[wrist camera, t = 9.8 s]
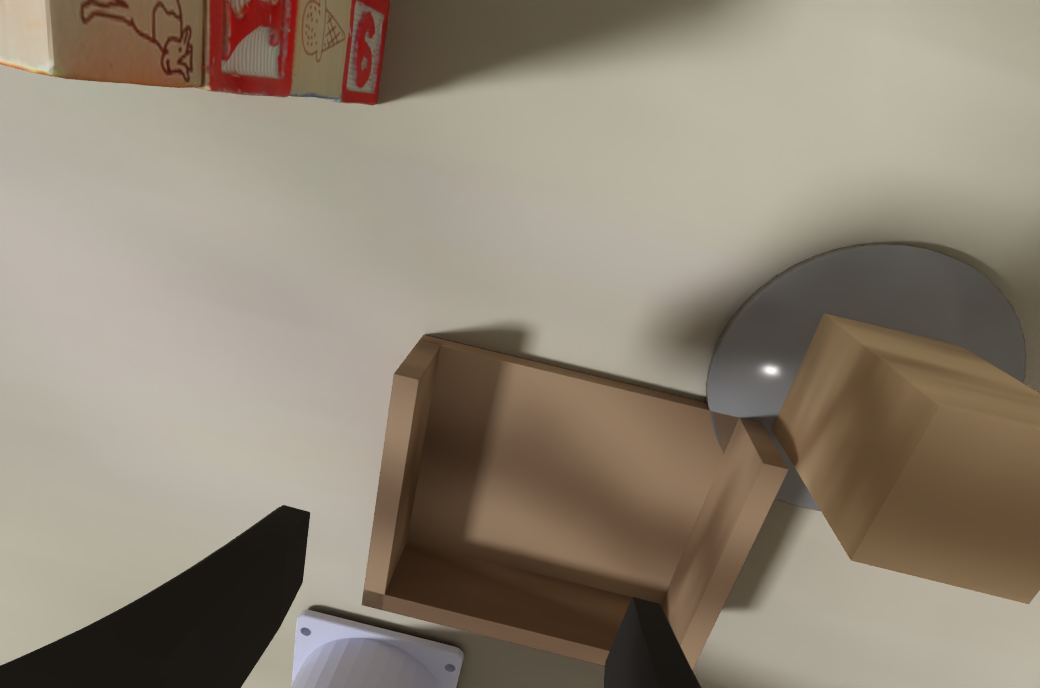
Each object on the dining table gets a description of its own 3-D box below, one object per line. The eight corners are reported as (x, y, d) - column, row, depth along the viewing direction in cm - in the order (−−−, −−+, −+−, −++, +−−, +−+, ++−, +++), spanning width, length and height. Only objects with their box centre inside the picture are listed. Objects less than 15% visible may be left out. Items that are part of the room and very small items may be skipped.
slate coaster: (924, 528, 22) (933, 539, 21) (669, 466, 22) (672, 475, 21) (1076, 283, 18) (1092, 288, 17) (766, 211, 18) (772, 214, 17)
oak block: (895, 459, 20) (1028, 604, 14) (771, 429, 20) (851, 560, 14) (959, 345, 18) (1142, 455, 12) (823, 313, 18) (940, 406, 12)
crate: (671, 611, 24) (685, 686, 21) (390, 541, 25) (361, 604, 21) (756, 414, 21) (788, 469, 17) (423, 334, 21) (393, 373, 18)
